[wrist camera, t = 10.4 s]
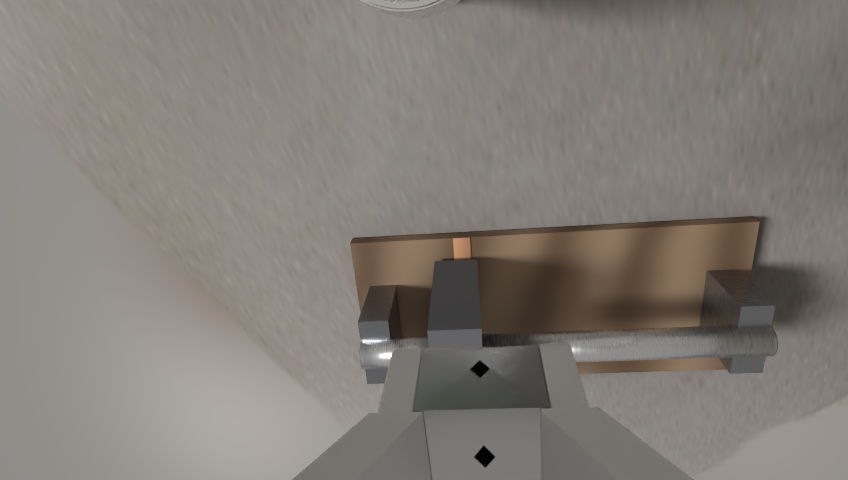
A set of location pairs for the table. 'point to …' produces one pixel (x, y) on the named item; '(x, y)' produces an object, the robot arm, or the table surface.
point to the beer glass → (411, 7)
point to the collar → (455, 305)
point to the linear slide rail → (609, 332)
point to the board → (569, 277)
